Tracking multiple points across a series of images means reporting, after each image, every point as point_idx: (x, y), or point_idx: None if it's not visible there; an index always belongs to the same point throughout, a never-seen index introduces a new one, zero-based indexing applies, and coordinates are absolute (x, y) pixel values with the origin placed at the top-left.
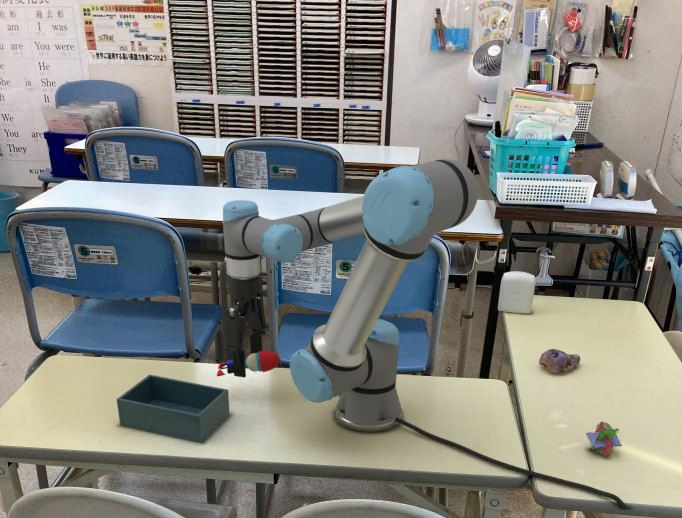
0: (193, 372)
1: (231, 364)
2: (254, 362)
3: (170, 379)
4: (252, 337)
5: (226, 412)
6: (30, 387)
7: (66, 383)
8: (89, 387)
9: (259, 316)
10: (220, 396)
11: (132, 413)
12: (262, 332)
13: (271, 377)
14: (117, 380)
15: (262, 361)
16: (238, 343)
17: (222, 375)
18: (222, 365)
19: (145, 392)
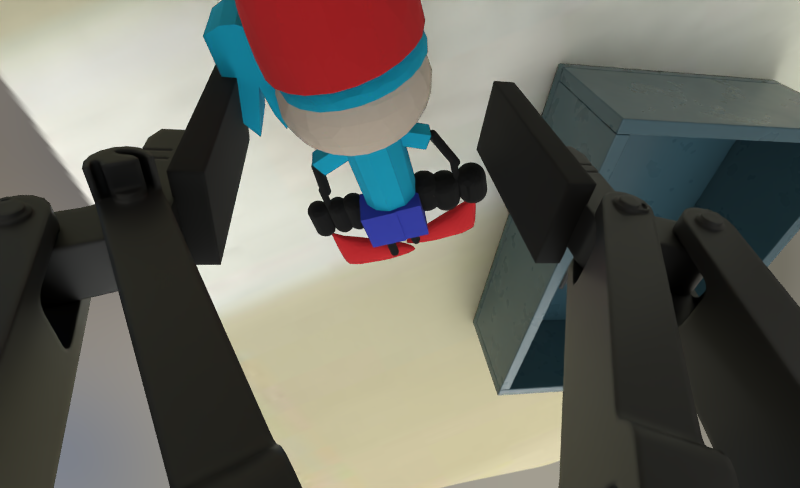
0: (253, 312)
1: (421, 209)
2: (423, 76)
3: (528, 341)
4: (220, 232)
5: (598, 75)
6: (462, 480)
7: (431, 459)
8: (438, 431)
9: (27, 371)
10: (698, 125)
11: None
12: (133, 185)
13: (91, 6)
14: (387, 414)
15: (418, 10)
16: (724, 259)
17: (474, 205)
18: (397, 245)
19: (529, 351)
